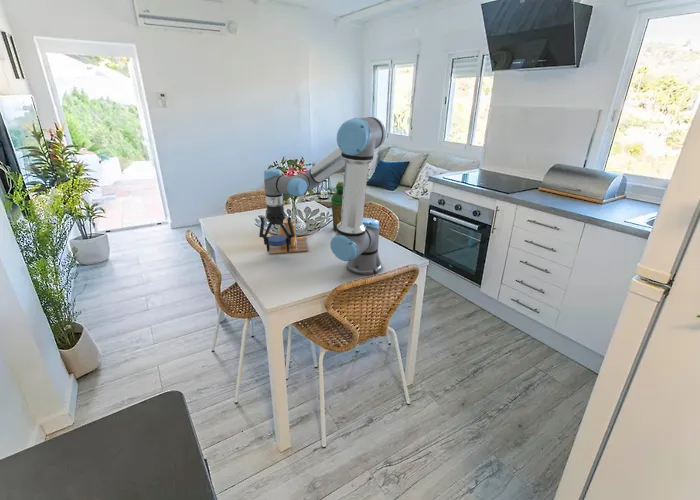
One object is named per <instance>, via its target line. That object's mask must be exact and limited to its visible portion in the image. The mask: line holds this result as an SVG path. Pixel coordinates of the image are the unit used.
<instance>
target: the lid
mask: <svg viewBox="0 0 700 500" xmlns="http://www.w3.org/2000/svg"><path fill="white" fill-rule="evenodd" d="M268 237H269V238H268V244H269V246H270V247H271V246H282V245H285V244H286V243H287V242H286V239H287V237H286V236H284V235H279V234H272V235H270V236H268Z"/></svg>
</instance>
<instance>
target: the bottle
mask: <svg viewBox="0 0 700 500" xmlns="http://www.w3.org/2000/svg"><path fill="white" fill-rule="evenodd" d="M343 186H344V181H337V183H336V185H335V189H336V192H335V193H334V194H333V195H332V196H331V198H330V201H331V215H332V229H333V231H336V230H337V224H339V223H340V222H341V214H342V200H343Z"/></svg>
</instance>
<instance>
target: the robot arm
mask: <svg viewBox="0 0 700 500" xmlns="http://www.w3.org/2000/svg"><path fill="white" fill-rule="evenodd" d="M386 137H387V130H386V127H385V124H384V123H383V122H382V121H381V120H380V119H379V118H377V117H373V116H366V117H354V118H350V119H348V120H345V121H344V122H343V123H342V124H341V125H340V126H339V128H338V130H337V132H336V144H337V146H338V147H337V148H336V149H335V150H333V151H332V152H331V153H329V154H328V155H326V156H325V157H324V158H323V159H321V160H320V161H319V162H317V163H316V164H315V165H313V166H312V167H311V168H310V169H308V170H307V171H306V172H305V171H304V172H303V173H299V174H295V175H292V176H288V175H283V173H282V170H281V169H279V168H267V169H265V170H264V172H263V183H264V192H265V194H264V195H265V204H266V215H261V216H260V218H259V219H260V228H259V233H258V234H259V235H258V236H259V238H262V239H263V244H264V245H266V252H267V253H268V252H270V251H271V246H270V245H269V244H268V238H269V237H270V236H268V234H269V233H270V230H271V227H272V225H273V226H275V225H276V226H279V225H280V226H281V227H282V229H283V230H284V232H285V234H286V236H287V239H286V242H287V252H289V245H291V238H292V237H294V236H295V233H294V229H293V226H292V222H291V219H292V215H286V214H285V207H284V195H289V196H293V197H303V196H304V195H305V193H306V192H307V191H309V190H312V189H315V188H318V187H319V186H320V185H321V184H322V182H324V181H325V180H327V179H328V178H330V177H332V175H334V174H336V173H337V172H339V171H340V170H341V169H343V168H344V174H343V184H344V186H343V200H342V214H341V222H340V223H339V224H337V230H336V232H335V235H334V236H333V237H332V239H331V241H330V250H331V251H332V254H333V255H334V256H335V257H336V258H338V260H340V261H343V262H347V269H348V270H349V271H350V272H351V273H353V274H356V275H357V274H358V275H364V276H367V275H377V273H379V272H380V271H381V270H382V261H381V258H380V254H379V239H380V230H381V229H380V221H378V220H377V219H375V218H371V217H364V211H365V203H366V193H367V182H368V174H369V173H368V171H369V164H370V163H371V162H372V161H373V160H374V155H375V150H376V149H378V148H379V147H381V146H382V145H383V144H384V142H385V140H386ZM284 219H286V221H288V225H289V229H290V232H291V234H290V233H289V231H288V229H287V227H286V226H285V224H284V222H283V220H284ZM266 220H267V221H268V225H267V228H266V230H265V232H264V229H265V223H266V222H265V221H266Z"/></svg>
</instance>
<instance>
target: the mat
mask: <svg viewBox="0 0 700 500" xmlns="http://www.w3.org/2000/svg"><path fill="white" fill-rule="evenodd" d="M307 252H308V247H307V242H306V239H305V236H304V237H303V238H297V239H296V245H295V246H293V247H289V252H287V247H282V246H271V245H270V255H277V254H278V255H280V254H294V253H307Z"/></svg>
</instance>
